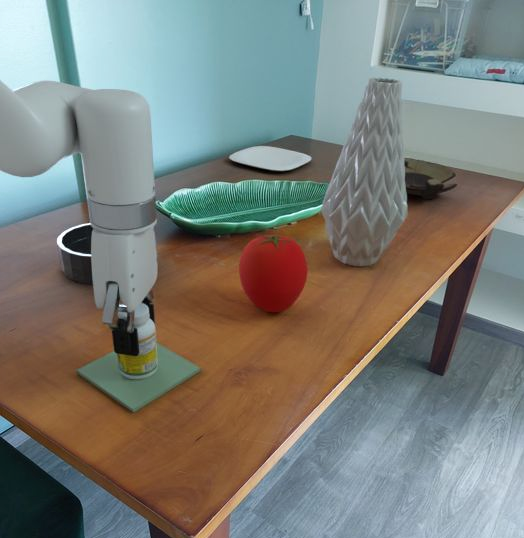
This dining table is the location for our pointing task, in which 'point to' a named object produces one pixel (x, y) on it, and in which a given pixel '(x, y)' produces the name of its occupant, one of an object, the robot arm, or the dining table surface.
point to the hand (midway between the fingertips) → (135, 339)
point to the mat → (138, 390)
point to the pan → (76, 253)
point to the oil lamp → (426, 178)
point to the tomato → (273, 272)
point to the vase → (369, 179)
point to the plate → (270, 158)
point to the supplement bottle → (140, 347)
